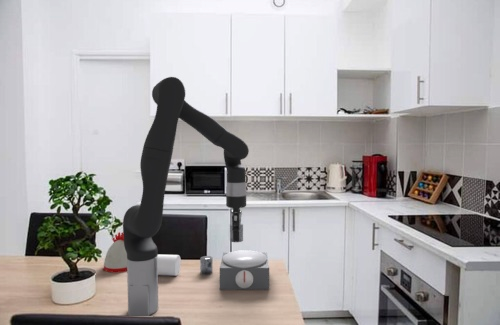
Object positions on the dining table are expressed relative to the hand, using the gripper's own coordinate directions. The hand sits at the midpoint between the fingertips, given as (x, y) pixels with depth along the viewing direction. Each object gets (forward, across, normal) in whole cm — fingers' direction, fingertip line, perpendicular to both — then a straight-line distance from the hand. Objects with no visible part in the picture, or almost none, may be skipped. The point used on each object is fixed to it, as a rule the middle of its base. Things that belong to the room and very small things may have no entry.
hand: (236, 238), depth 123 cm
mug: (+17, +11, +29) cm, 36 cm away
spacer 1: (+17, +11, +13) cm, 24 cm away
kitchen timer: (+17, +18, +51) cm, 57 cm away
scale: (+17, +3, -3) cm, 18 cm away
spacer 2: (+1, 0, 0) cm, 1 cm away
